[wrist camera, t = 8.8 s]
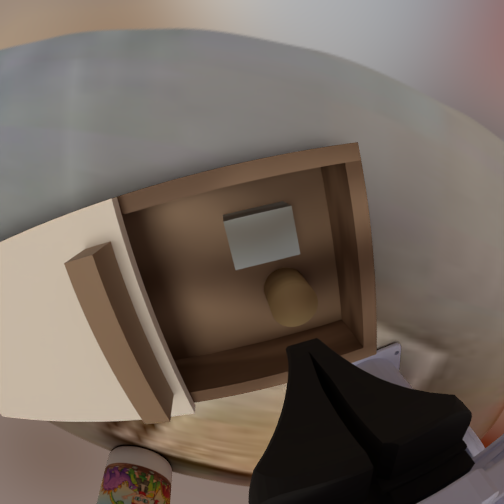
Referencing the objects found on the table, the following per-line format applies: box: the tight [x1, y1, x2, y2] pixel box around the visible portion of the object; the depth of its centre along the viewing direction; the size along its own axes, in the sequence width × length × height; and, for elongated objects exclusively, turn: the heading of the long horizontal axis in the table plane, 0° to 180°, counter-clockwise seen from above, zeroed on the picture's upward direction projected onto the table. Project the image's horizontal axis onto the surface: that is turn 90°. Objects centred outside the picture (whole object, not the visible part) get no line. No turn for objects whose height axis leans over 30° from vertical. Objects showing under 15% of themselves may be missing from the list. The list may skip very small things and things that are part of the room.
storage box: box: [117, 142, 377, 402], centre depth 19 cm, size 14×20×5 cm
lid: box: [0, 197, 195, 424], centre depth 14 cm, size 14×20×3 cm
